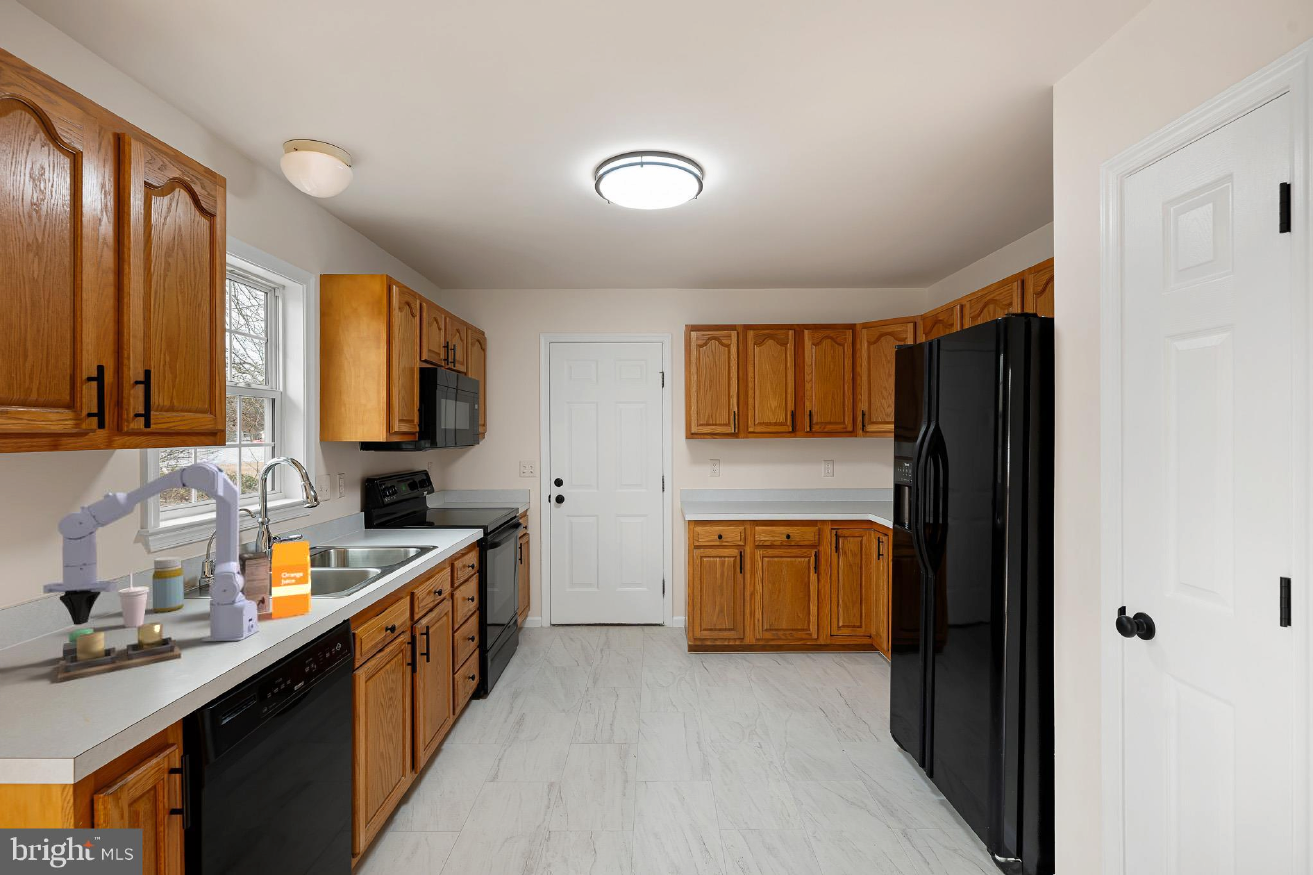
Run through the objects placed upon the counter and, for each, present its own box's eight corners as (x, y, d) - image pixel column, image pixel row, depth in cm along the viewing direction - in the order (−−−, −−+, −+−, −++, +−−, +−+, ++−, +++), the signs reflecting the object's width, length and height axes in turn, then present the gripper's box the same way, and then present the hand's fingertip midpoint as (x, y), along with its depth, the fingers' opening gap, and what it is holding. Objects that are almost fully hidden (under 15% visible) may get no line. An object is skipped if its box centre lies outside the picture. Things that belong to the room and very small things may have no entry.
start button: (93, 635, 144) (93, 627, 144) (93, 639, 141) (93, 631, 141) (69, 639, 141) (69, 631, 141) (69, 643, 138) (68, 635, 138)
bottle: (163, 606, 182) (162, 556, 182) (189, 605, 183) (188, 555, 183) (146, 613, 175) (146, 561, 175) (173, 612, 176) (172, 560, 176)
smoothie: (113, 626, 163) (112, 574, 163) (142, 620, 169) (141, 569, 169) (125, 630, 160) (124, 576, 160) (154, 623, 166) (153, 571, 166)
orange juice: (276, 611, 176) (274, 541, 176) (311, 607, 179) (310, 539, 179) (272, 618, 169) (270, 546, 169) (308, 614, 172) (307, 543, 172)
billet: (163, 646, 144) (163, 621, 144) (161, 652, 140) (161, 625, 140) (139, 650, 141) (138, 624, 141) (136, 656, 138) (136, 629, 138)
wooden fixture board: (175, 643, 149) (174, 614, 149) (181, 657, 139) (180, 626, 139) (60, 665, 135) (59, 633, 135) (57, 682, 126) (57, 648, 126)
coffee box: (237, 609, 178) (236, 553, 178) (262, 604, 183) (261, 550, 183) (244, 615, 172) (243, 558, 172) (270, 610, 177) (269, 554, 176)
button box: (99, 650, 145) (99, 637, 145) (99, 656, 141) (99, 643, 141) (63, 656, 141) (63, 643, 141) (62, 663, 137) (62, 650, 137)
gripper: (127, 559, 145) (127, 617, 145) (63, 561, 144) (63, 619, 144) (101, 566, 138) (102, 626, 138) (34, 567, 137) (34, 628, 137)
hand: (80, 623), depth 141 cm, fingers closed
